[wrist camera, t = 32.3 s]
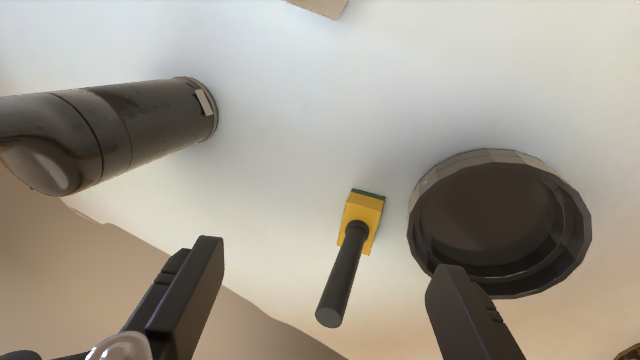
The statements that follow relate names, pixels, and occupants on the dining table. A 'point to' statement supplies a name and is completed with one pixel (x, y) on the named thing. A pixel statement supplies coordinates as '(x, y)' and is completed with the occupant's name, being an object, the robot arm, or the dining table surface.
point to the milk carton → (322, 7)
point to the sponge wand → (349, 254)
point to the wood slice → (630, 353)
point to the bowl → (499, 222)
